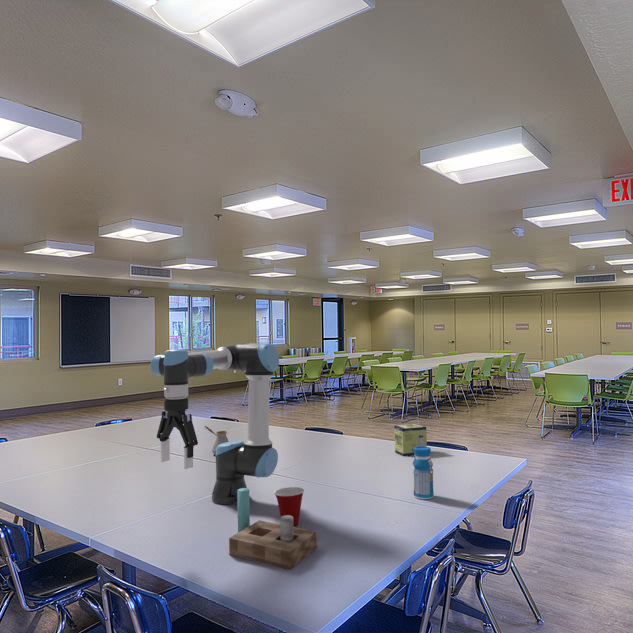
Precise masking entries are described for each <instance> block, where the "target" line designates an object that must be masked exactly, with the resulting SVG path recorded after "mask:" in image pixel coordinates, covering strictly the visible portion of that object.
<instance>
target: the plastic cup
mask: <svg viewBox="0 0 633 633" xmlns="http://www.w3.org/2000/svg"><path fill="white" fill-rule="evenodd" d="M273 492H274V495H275V498H276V501H277V505H278V512H279V516H280V517H282V516H285V515H290V516H293V527H296V526H298V525H299V520H300V514H301V508H302V507H301V506H302V501H303V495H304V493H305V488H303V487H298V486H288V487H283V488H279V489H276V490H274V491H273Z"/></svg>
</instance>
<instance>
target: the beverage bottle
mask: <svg viewBox="0 0 633 633" xmlns="http://www.w3.org/2000/svg"><path fill="white" fill-rule="evenodd" d="M431 453H432V450H431V447H429V446H427V447H425V446H418V447H415V448H414V455H413V456H414V457H415V458H414V459H413V461H412V466H413V467H412V478H413V479H412V481H413V482H412V483H413V496H414V498H415V499H419V500H431V499H433V498H434V496H435V494H434V493H435V492H434V468H433V466H434V463H433V461H432V460H431V456H432V454H431Z"/></svg>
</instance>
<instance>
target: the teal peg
mask: <svg viewBox="0 0 633 633" xmlns="http://www.w3.org/2000/svg"><path fill="white" fill-rule="evenodd" d="M237 493H238V503H237V533H238V532H240V531H242V530H244V529H245V528H247V527H249V526H250V525H251V524H250V521H251V520H250V513H251V512H250V488H248V487H247V488H241V489H238V490H237Z"/></svg>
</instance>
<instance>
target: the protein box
mask: <svg viewBox="0 0 633 633" xmlns="http://www.w3.org/2000/svg"><path fill="white" fill-rule="evenodd" d="M393 430H394V452H395V453H396V454H398V455H399V456H402V457H409V456H415V455H414V448H415V447H418V446H425V447H428V442H427V440H428V439H427V426H424V425H421V424H420V423H419V424H418V423H412V424H399V425H397V424H396V425H394V429H393Z"/></svg>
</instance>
